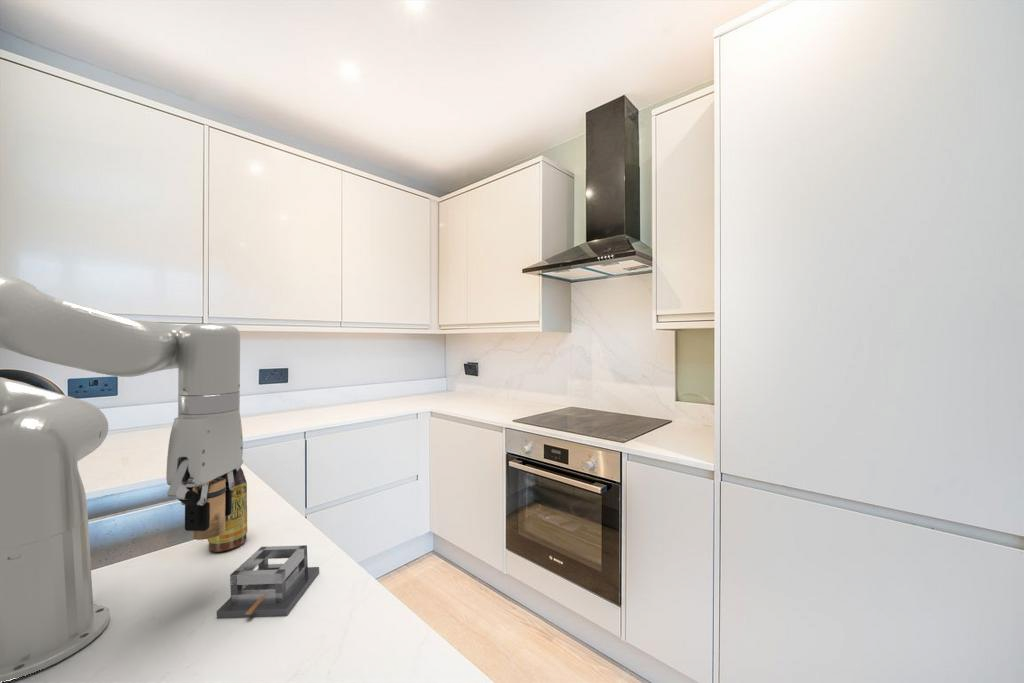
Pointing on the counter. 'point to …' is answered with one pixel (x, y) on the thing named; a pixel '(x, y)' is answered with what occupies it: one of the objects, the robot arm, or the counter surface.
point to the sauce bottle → (234, 518)
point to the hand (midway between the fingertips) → (209, 521)
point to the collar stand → (269, 583)
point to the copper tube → (214, 509)
